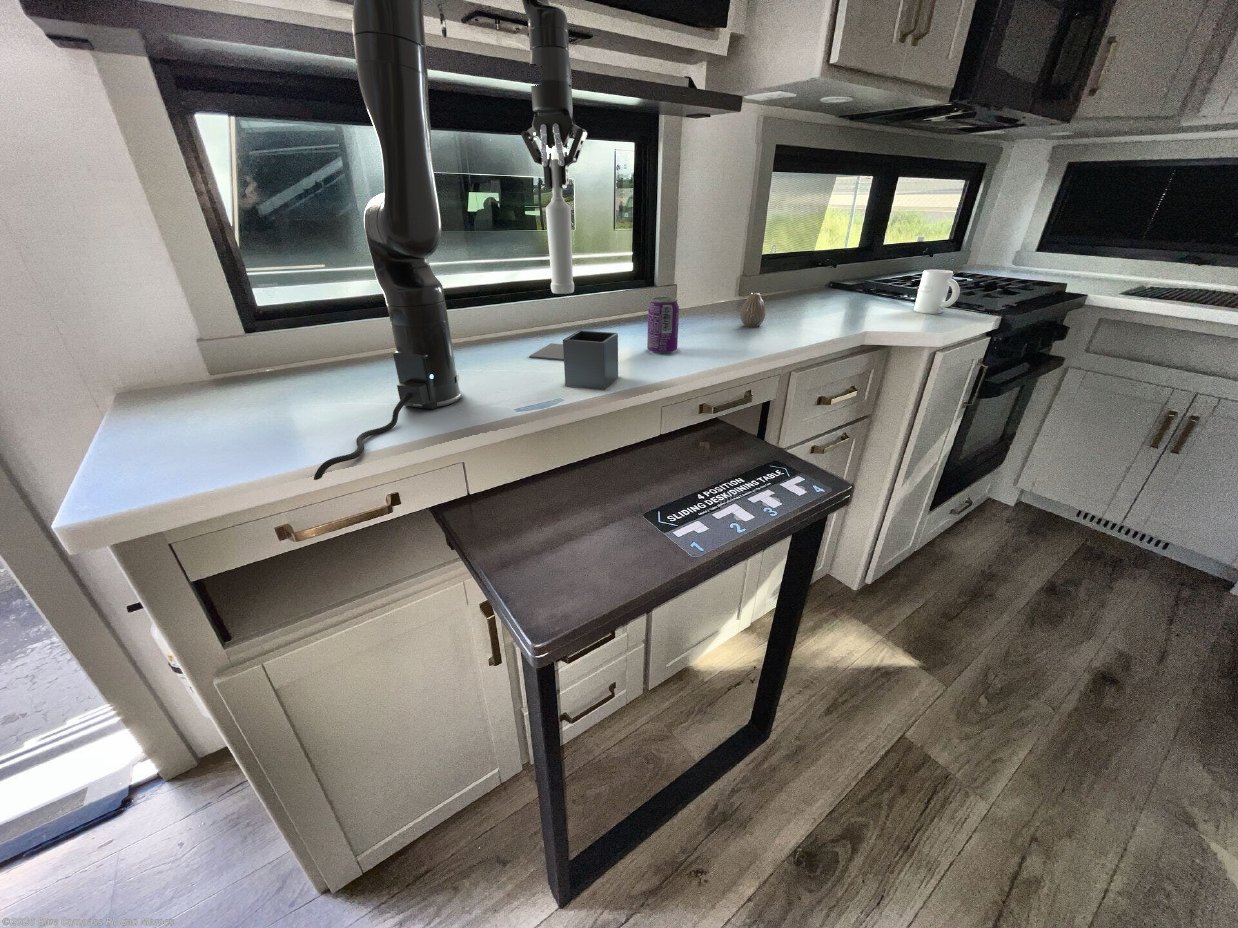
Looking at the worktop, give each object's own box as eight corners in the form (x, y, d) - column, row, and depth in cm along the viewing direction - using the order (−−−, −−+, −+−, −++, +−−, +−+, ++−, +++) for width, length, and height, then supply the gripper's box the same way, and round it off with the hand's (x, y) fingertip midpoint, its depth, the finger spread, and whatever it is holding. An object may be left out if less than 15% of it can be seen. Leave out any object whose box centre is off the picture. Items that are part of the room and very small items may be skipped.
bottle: (552, 294, 108) (544, 158, 97) (549, 290, 113) (540, 160, 101) (576, 293, 109) (570, 158, 98) (572, 289, 114) (566, 160, 102)
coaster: (577, 361, 113) (577, 360, 113) (529, 357, 116) (529, 356, 116) (596, 348, 123) (596, 346, 123) (551, 345, 126) (551, 343, 126)
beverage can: (682, 350, 121) (685, 298, 116) (668, 357, 116) (670, 303, 110) (656, 346, 125) (658, 295, 119) (641, 352, 120) (642, 300, 114)
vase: (735, 326, 143) (738, 294, 139) (745, 322, 148) (748, 290, 144) (758, 329, 140) (762, 296, 136) (767, 324, 145) (771, 293, 141)
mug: (944, 317, 153) (956, 275, 147) (907, 310, 162) (917, 270, 156) (960, 314, 156) (972, 273, 151) (923, 307, 165) (933, 268, 160)
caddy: (605, 390, 96) (604, 343, 92) (565, 386, 98) (562, 339, 94) (618, 377, 103) (617, 332, 99) (580, 373, 105) (579, 330, 101)
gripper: (508, 81, 92) (517, 188, 101) (578, 75, 89) (582, 187, 97) (527, 88, 99) (534, 189, 107) (593, 83, 95) (595, 188, 103)
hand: (557, 188), depth 102 cm, fingers closed on bottle, 2 cm apart
